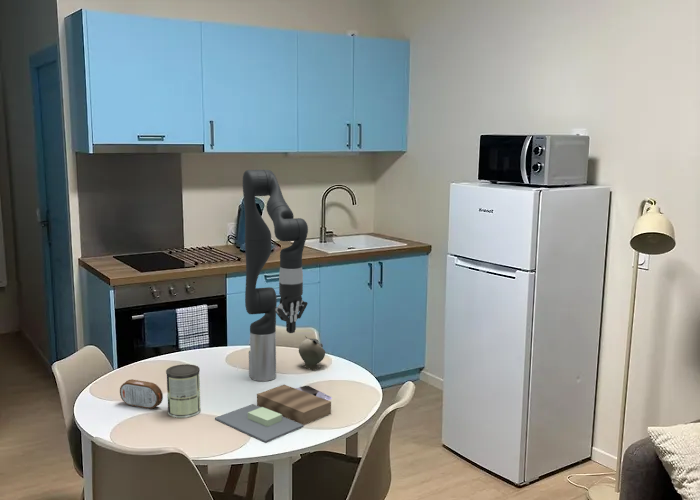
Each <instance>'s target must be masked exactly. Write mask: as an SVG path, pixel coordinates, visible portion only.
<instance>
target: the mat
mask: <svg viewBox="0 0 700 500" xmlns="http://www.w3.org/2000/svg"><path fill="white" fill-rule="evenodd" d="M258 408H261V407H259V406H257V404H256V405H255V404H253V403H251V404H250V405H249V404H248V405H246V406H243V407H239V408H238V409H235V410H232V411H229V412H226V413H224V414H222V415H219V416H216V417H214V420H215V421H218V422H220V423H222V424H224V425H226V426H228V427H230V428H233V429H235V430H236V431H239V432H241V433H243V434H246V435H247V436H250V437H252V438H255V439H257V440H258V441H261V442H263V443H265V444H267V443H269V442H272V441H274V440H276V439H278V438H280V437H284V436H286V435H288V434H291V433H293V432H295V431H298V430H300V429H303V428H304V425H302V424H300V423H298V422H295V421H293V420H290V419H288V418H285V417H283V416H282V421H280V422H278V423H275V424H273V425H271V426H268V427H267V426H265V425H262V424H260V423H257V422H255V421H252V420H250V419H248V412H250V411H253V410H256V409H258Z"/></svg>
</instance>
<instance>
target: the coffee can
mask: <svg viewBox="0 0 700 500" xmlns="http://www.w3.org/2000/svg"><path fill="white" fill-rule="evenodd" d="M165 373H166V389H167V393H166V394H167V414H168V416H170V417H171V416H172V418H175V417H176V418H175V419H187V418H192V417H194V416H195V417H196V416H197V415H198V414H200V413H201V411H202V409H201V389H200V387H201V386H200V384H201V383H200V382H201V381H200V367H199V366H198V365H196V364H191V363H190V364H189V363H187V364H184V363H183V364H177V365H173V366H169V367H168V368H167V369H166V370H165Z"/></svg>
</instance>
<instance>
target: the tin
mask: <svg viewBox="0 0 700 500" xmlns="http://www.w3.org/2000/svg"><path fill="white" fill-rule="evenodd" d="M119 396H120V398H121V400H122V402H123V403H125V404H126V405H127V404H128V406H130V405H132V407H136V406H138V407H137V408H142V407H143V408H142V409H147V408H150V409H149V410H152V409H155V408H157V407H158V406H160V405H161V404H162V402H163V399H164V398H163V397H164V395H163V391H162V390H161V388H160V387H159V385H157V383H154V382H149V381H144V380H139V379H128V380H126V381H125V382H124V383H122V384H121V385H120V387H119Z"/></svg>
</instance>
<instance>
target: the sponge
mask: <svg viewBox="0 0 700 500" xmlns="http://www.w3.org/2000/svg"><path fill="white" fill-rule="evenodd" d="M248 419H250V420H252V421H255V422H257V423H260V424H262V425H265V426H267V427H268V426H271V425H273V424H275V423H278V422H280V421H282V414H280V413H277V412H274V411H272V410H269V409H267V408H264V407H261V408H258V409H256V410H253V411H250V412H248Z"/></svg>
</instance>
